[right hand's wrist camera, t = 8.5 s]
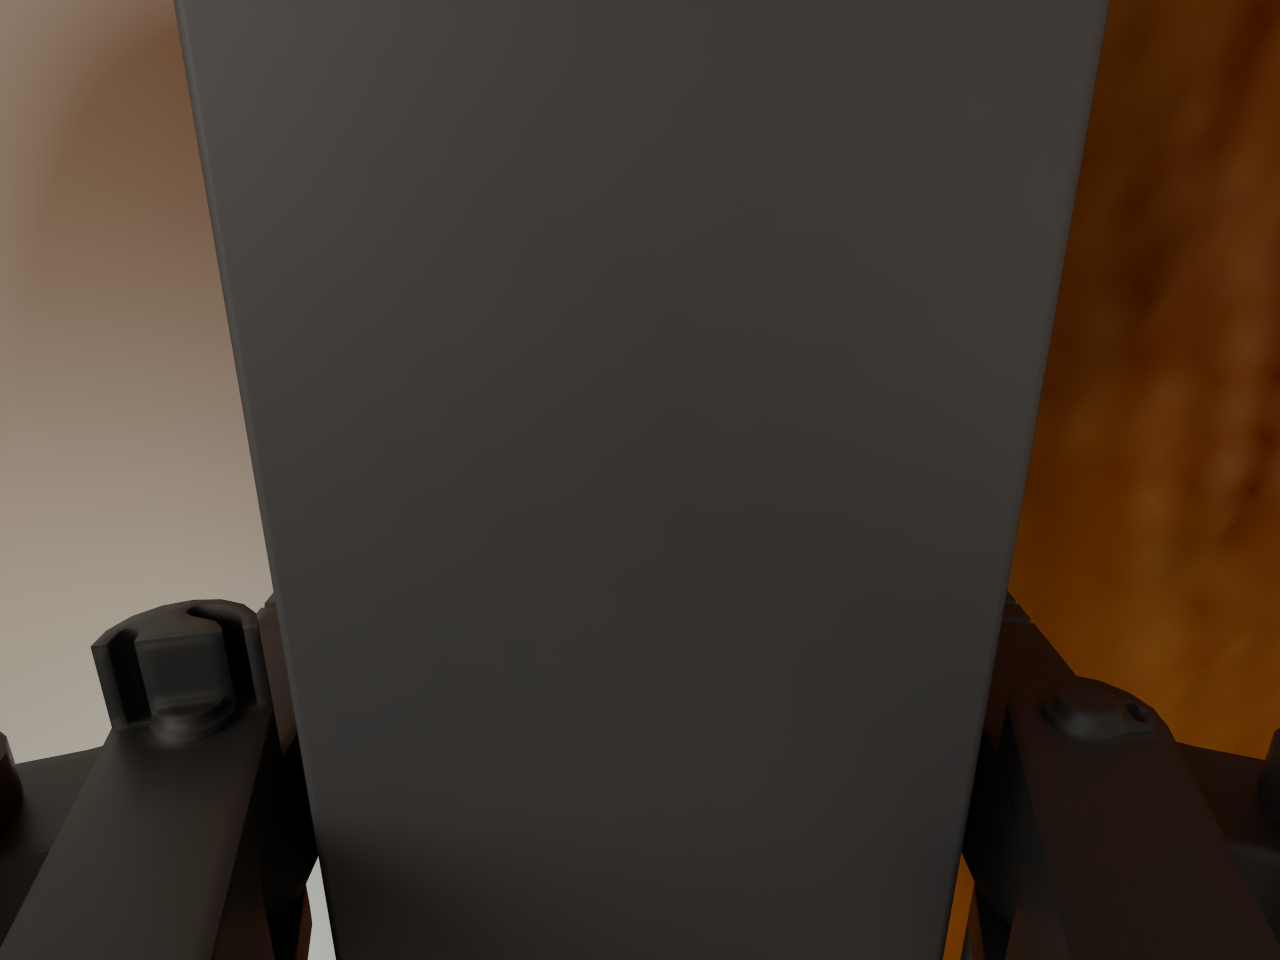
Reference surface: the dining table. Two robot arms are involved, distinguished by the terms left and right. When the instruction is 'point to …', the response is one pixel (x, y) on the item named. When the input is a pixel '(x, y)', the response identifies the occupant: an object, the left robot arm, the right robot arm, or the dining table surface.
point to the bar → (640, 445)
